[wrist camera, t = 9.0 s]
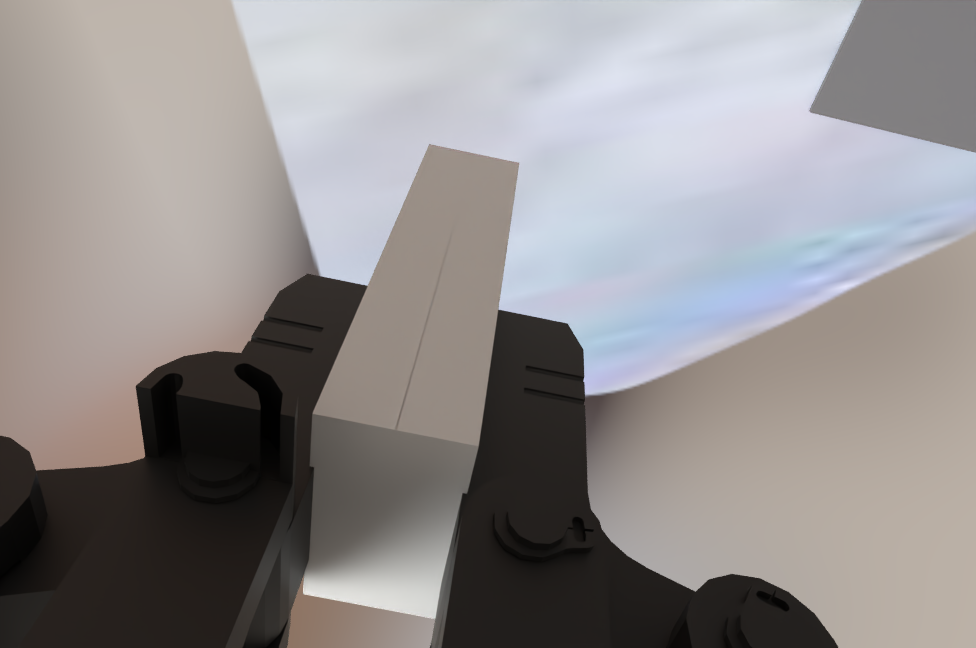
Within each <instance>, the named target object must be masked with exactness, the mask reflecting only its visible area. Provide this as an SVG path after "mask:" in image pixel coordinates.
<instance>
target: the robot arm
mask: <svg viewBox="0 0 976 648" xmlns="http://www.w3.org/2000/svg"><path fill="white" fill-rule="evenodd" d="M518 168H519V163H517V162H512V161H507V160H502V159H498V158H493V157H488V156H483V155H478V154H473V153H469V152H464V151H459V150H454V149H449V148H445V147H440V146H435V145H430V144H429V146H428V149H427V151H426V153H425V156H424V158H423V160H422V162H421V165H420V167H419V169H418V172H417V174H416V176H415V179H414V181H413V183H412V185H411V188H410V190H409V192H408V195H407V197H406V199H405V202H404V204H403V206H402V208H401V211H400V213H399V215H398V218H397V220H396V222H395V225H394V227H393V229H392V231H391V234H390V236H389V238H388V241H387V243H386V245H385V248H384V250H383V252H382V255H381V257H380V259H379V261H378V264H377V266H376V268H375V271H374V273H373V275H372V278H371V280H370V282H369V284H368V286H365V285H360V284H355V283H351V282H346V281H341V280H336V279H331V278H326V277H321V276H316V275H311V274H307V275H305V276H303V277H302V278H300V279H299V280H297V281H295V282H294V283H292V284H291V285H289V286H287V287H286V288H284V289H283V290H281V291H279V293H278V294H277V296H276V298H275V299H274V301H273V303H272V304H271V306H270V307H269V309H268V311H267V312H266V314H265V316H264V320H263V321H261V322H260V324H259V325H258V327H257V328H256V330H255V332H254V333H253V335H252V338H251V341H249V342H248V343H247V345H246V346H245V348H244V349H243V351H242V353H232V352H219V351H213V352H207V353H201V354H195V355H189V356H183V357H181V358H179V359H176V360H174V361H172V362H169V363H167V364H165V365H163V366H161V367H158V368H156V369H155V370H154V371H152V372H151V373H150V374H149V375H148V376H147V377H146V378H144V379H143V380H142V381H141V382H140V383H139V384H138V385H136V391H137V399H138V406H139V413H140V420H141V427H142V435H143V442H144V449H145V457H144V458H143V459H140V460H136V461H133V462H130V463H124V464H118V465H111V466H104V467H87V468H72V469H55V470H39V471H36V469H35V466H34V464H33V461H32V458H31V455H30V452H29V451H27V450H26V449H25V448H23V447H22V446H21V445H19V444H18V443H17V442H15V441H14V440H13V439H11V438H9V437H4V436H0V648H287V645H288V637H289V629H290V616H291V609H292V606H293V603H294V600H295V598H296V595H297V592H298V589H299V586H300V584H301V581H302V578H303V575H304V587H303V594H306V595H311V596H317V597H322V598H328V599H332V600H338V601H344V602H348V603H353V604H359V605H364V606H369V607H375V608H380V609H385V610H391V611H396V612H401V613H407V614H412V615H417V616H422V617H427V618H433V619H435V624H434V630H433V636H432V642H431V646H430V648H838V646H837V644H836V643H835V641H834V639H833V638H832V637H831V635H830V634H829V633H828V631H827V630H826V629H825V627H824V626H823V625H822V623H821V622H820V621H819V619H818V618H817V617H816V615H815V614H814V613H813V612H812V611H811V610H809V609H808V608H807V607H806V606H805V605H803V604H802V603H801V602H799V600H797V599H796V598H795V597H794V596H792V595H791V594H790V593H789V592H787V591H785V590H783V589H781V588H779V587H777V586H774V585H772V584H770V583H768V582H766V581H764V580H762V579H760V578H754V577H748V576H741V575H735V574H730V575H726V576H722V577H717V578H713V579H709V580H708V581H707V582H706V583H705V584H704V585H702V586H701V587H700V588H699V589H698V590H697V591H696V592H695V591H693V590H691V589H689V588H687V587H685V586H683V585H681V584H678V583H676V582H674V581H672V580H670V579H668V578H666V577H664V576H662V575H660V574H658V573H656V572H654V571H652V570H650V569H648V568H646V567H645V566H643V565H641V564H640V563H638V562H636V561H635V560H633V559H632V558H630V557H628V556H627V555H626V554H624V552H622V551H621V550H620V549H619V548H618V547H617V546H616V545H614V544H613V543H612V542H611V541H610V539H609V538H608V537H607V536H606V534H605V533H604V532H603V530H602V529H601V525H600V522H599V520H598V518H597V517H596V516H595V514H594V513H593V512H592V511H591V508H590V503H589V497H588V486H587V457H586V425H585V424H586V423H585V422H586V421H585V405H584V401H585V388H584V382H583V380H584V355H583V348H582V347H581V345H580V344H579V342H578V340H577V339H576V337H575V335H574V334H573V332H572V330H571V329H570V327H569V325H568V324H567V323H562V322H557V321H552V320H547V319H542V318H537V317H532V316H527V315H522V314H517V313H512V312H507V311H502V310H498V307H499V301H500V294H501V287H502V280H503V273H504V266H505V259H506V252H507V245H508V238H509V231H510V224H511V217H512V210H513V203H514V196H515V189H516V182H517V175H518Z"/></svg>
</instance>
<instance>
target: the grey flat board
mask: <svg viewBox="0 0 976 648" xmlns="http://www.w3.org/2000/svg"><path fill="white" fill-rule="evenodd" d="M809 111H810V112H811V113H815V114H819V115H823V116H828V117H832V118H836V119H840V120H844V121H848V122H852V123H856V124H860V125H865V126H869V127H873V128H877V129H881V130H885V131H889V132H893V133H897V134H902V135H906V136H910V137H914V138H918V139H922V140H926V141H930V142H934V143H939V144H943V145H947V146H951V147H955V148H959V149H963V150H967V151H971V152H976V0H862V2H861V4H860V6H859V8H858V10H857V12H856V14H855V16H854V18H853V20H852V23H851V25H850V27H849V29H848V31H847V33H846V35H845V37H844V39H843V41H842V43H841V46H840V48H839V50H838V52H837V54H836V56H835V58H834V60H833V62H832V64H831V66H830V69H829V71H828V73H827V75H826V77H825V79H824V81H823V83H822V85H821V87H820V89H819V92H818V94H817V96H816V98H815V100H814V102H813V104H812V106H811V108H810V110H809Z"/></svg>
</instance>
